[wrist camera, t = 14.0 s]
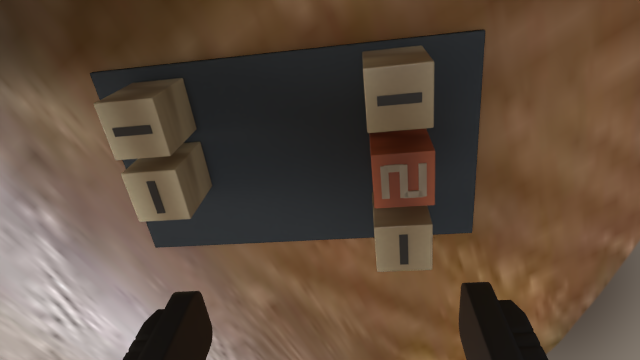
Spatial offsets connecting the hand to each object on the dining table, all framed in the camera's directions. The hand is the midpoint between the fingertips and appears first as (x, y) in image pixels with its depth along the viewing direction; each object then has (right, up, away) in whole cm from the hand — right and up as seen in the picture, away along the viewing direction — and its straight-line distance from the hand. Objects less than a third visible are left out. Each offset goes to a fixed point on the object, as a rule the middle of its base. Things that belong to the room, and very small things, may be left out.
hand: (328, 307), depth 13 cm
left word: (-12, +7, +19) cm, 24 cm away
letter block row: (+5, +6, +19) cm, 20 cm away
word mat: (-2, +6, +20) cm, 21 cm away
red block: (+6, +6, +18) cm, 20 cm away
